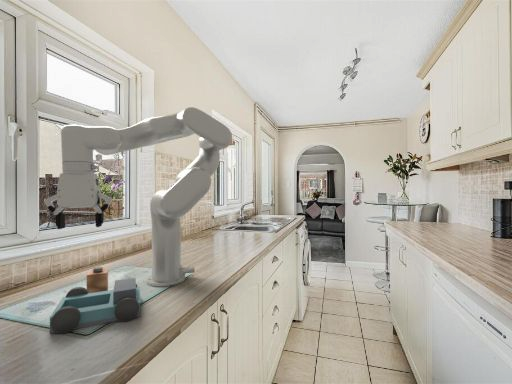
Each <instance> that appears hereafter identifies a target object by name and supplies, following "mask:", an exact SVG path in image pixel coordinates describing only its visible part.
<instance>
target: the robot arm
mask: <svg viewBox="0 0 512 384" xmlns="http://www.w3.org/2000/svg"><path fill="white" fill-rule="evenodd" d="M193 135H196V136H198V137H199V140H198V145H199V153H198V156H197V157H196V158H195V159H194V160H193V161H192V162H191V163H189V164H188V166H187V167H185V168H184V169H183V170H182V171H180V172H179V173H178V174H177V176H176V177H175V181H174V184H173V185H172V187H170V188H165V189H160V190H158V191H156V192H155V193H154V194H153V196H152V197H151V200H150V203H149V208H150V218H151V219H150V220H151V275H150V276H148V277H147V278H146V284H147V285H149V286H152V287H169V286H170V285H171V286H175V285H178V284H181V283H183V282H184V281H185V280H186V274H192V273H193V274H194V273H195V266H192V267H191V266H185V267H184V266H183V265H182V251H181V250H182V248H181V247H182V245H181V244H182V243H181V239H182V225H181V218H182V217H184V216H185V215H186V214H188V213H189V212H190V211H191V210H192V209H193V208H194V207H195V206H196V205H197V204H198V203H199V202H200V201H201V200H202V199H203V198H204V197H205V195H207V193H208V192H209V190H210V188H211V186H212V185H211V184H212V175H213V174H214V173H215V172H216V171H217V170H218V168H219V165H220V161H221V160H220V158H221V157H220V151H221V150H224V149H226V148H228V147H229V146H230V145H231V143H232V142H233V134H232V132H231V130H230V129H229V127H228V126H226V125H225V124H224V123H222V122H221V121H219V120H217V119H216V118H214V117H212V116H211V115H210V114H208V113H206V112H204V111H203V110H202V109H199V108H196V107H190V106H189V107H186V108H185V109H183V110H182V111H180V112H178V113H177V112H176V113H173V114H167V115H160V116H154V117H149V118H145V119H144V120H142V121H140V122H138V123H136V124H134V125H132V126H128V127H126V128H121V129H116V128H114V127H112V126H85V125H78V124H66V125H62V127H61V130H60V139H61V141H60V142H61V164H62V166H61V167H62V168H61V169H62V173H61V172H60V173H59V177H58V182H57V191H56V194H53V195H51V196H49V197H48V198H45V199H44V200H43V203H44V204H45V206H46V207H47V209H48V211H50V212H51V213H52V214H53V215H54V216H55V225H56V227H57V230H62V229H65V228H66V214H64V212H65V211H66V210H67V209H79V208H81V209H83V208H92V209H93V210H94V211H96V213H95V227H96V228H100V227H102V225H103V224H104V212H106V210H107V209H108V208H109V207H110V206H111V203H112V202H113V197H111V196H109V195H107V194H104V193H103V192H101V187H100V186H101V185H100V182H99V176H98V173H94V172H95V171H96V170H99V169H100V166H99V164H95V163H94V151H96V153H98V154H100V155H103V156H110V155H115V154H119V153H125V152H128V151H132V150H136V149H140V148H145V147H151V146H154V145H157V144H162V143H166V142H169V141H175V140H179V139H183V138H187V137H190V136H193ZM102 200H104V201H105V202H104V204H103V205H102V206H101V203H102ZM56 201H57V202H56ZM53 202H56V203H57V206H58V207H57V206H55V204H54V203H53Z"/></svg>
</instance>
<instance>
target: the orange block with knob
mask: <svg viewBox="0 0 512 384" xmlns="http://www.w3.org/2000/svg"><path fill="white" fill-rule="evenodd" d="M86 289H87V290H88V292H89V293H95V292H102V291H109V268H108V267H107V268H103V267H102V266H97V267H93V269H90V270H88V272H87V274H86Z"/></svg>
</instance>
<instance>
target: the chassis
mask: <svg viewBox="0 0 512 384" xmlns="http://www.w3.org/2000/svg"><path fill="white" fill-rule="evenodd" d="M136 280H137V279H136V277H132V278H125V279H123V278H122V279H115V280H114V284H113V289H111V290H110V289H108V291H102V292H95V293H89V292H88V290H87V288H85V287H82V286H75V287H72V288H70V289H69V291H68V292H66V295H65V296H62V298H61V299H60V300H59V302H58V304H56V307H55V308H54V310H53V312H52V313H51V315H50V316H49V334H53V333H54V334H55V333H57V334H61V335H62V334H67V333H70V332H72V331H73V330H75V329H80V328H81V327H82V328H86V326H87V327H92V326H97V325H96V324H98V325H102V324H101V323H103V324H106V323H105V322H108V323H113V322H122V323H126V322H130V321H132V320H134V319H135V318H140V317H142V316H141V315H142V314H141V313H142V312H141V309H142V307H141V294H140V293H141V292H140V286H138V285H137V282H136ZM91 325H92V326H91Z"/></svg>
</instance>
